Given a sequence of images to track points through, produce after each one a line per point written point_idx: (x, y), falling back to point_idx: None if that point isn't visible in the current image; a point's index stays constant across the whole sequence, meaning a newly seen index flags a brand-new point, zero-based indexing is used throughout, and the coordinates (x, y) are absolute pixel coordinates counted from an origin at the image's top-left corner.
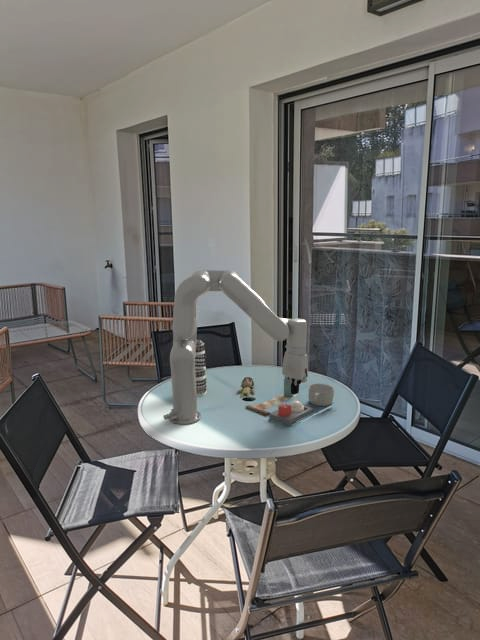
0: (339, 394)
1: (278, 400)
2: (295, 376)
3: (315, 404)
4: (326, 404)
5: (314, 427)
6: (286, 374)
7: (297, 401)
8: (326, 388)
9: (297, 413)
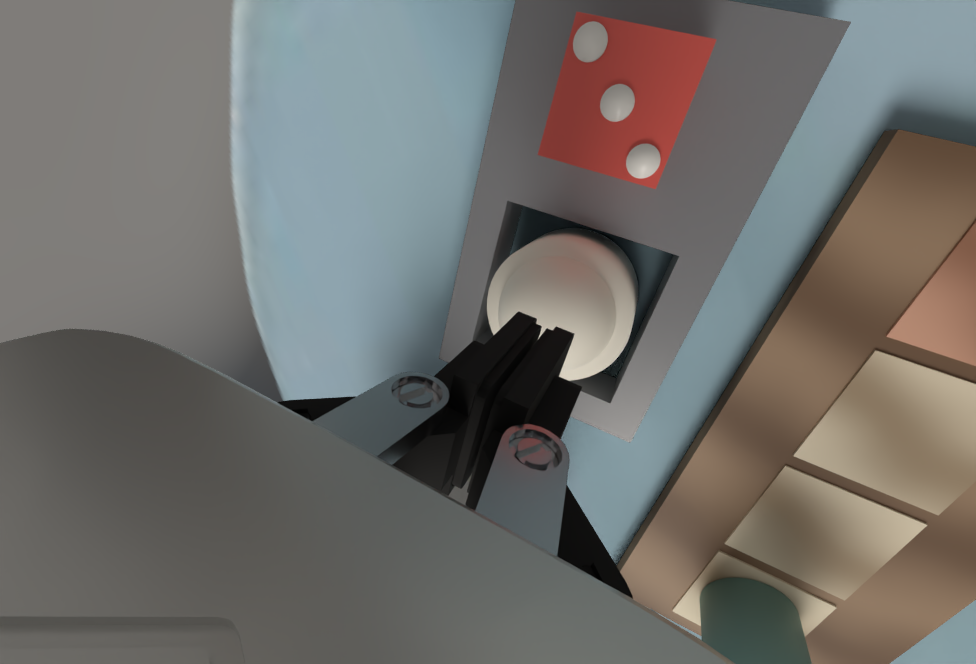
0: None
1: (825, 502)
2: (138, 424)
3: None
4: None
5: (364, 109)
6: (584, 660)
7: None
8: None
9: (512, 200)
